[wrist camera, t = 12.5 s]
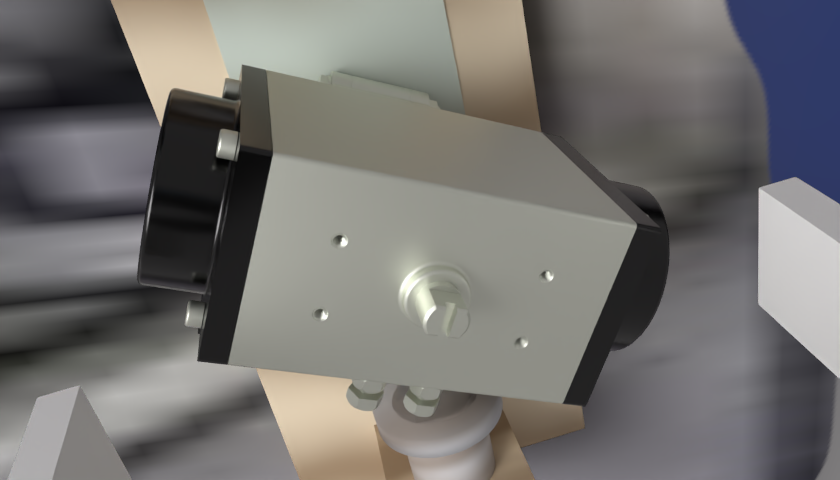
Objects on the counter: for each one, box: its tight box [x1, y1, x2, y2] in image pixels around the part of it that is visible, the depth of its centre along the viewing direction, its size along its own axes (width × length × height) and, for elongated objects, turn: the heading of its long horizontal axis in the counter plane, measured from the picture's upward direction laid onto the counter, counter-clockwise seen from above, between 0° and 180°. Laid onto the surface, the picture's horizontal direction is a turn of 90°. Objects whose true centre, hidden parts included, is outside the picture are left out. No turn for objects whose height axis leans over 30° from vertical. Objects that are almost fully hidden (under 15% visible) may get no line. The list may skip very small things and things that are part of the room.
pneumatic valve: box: [137, 64, 669, 417], centre depth 21 cm, size 6×12×12 cm, turn 74°
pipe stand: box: [111, 0, 585, 480], centre depth 24 cm, size 30×12×8 cm, turn 12°
